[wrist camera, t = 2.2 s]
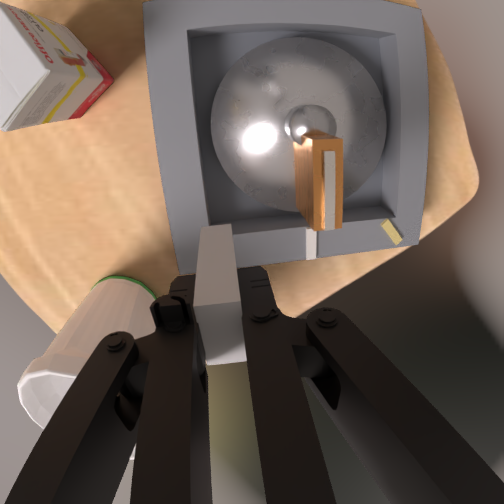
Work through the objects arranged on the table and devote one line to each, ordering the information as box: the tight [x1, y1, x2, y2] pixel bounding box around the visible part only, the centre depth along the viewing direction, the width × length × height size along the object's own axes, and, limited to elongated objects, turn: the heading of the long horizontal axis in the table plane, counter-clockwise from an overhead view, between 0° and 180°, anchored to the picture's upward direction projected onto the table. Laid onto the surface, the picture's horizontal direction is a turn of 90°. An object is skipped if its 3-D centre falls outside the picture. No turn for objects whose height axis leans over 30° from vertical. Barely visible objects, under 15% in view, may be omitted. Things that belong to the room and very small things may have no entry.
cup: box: [17, 276, 157, 460], centre depth 25 cm, size 12×12×15 cm
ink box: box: [0, 2, 114, 132], centre depth 15 cm, size 9×5×12 cm, turn 37°
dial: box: [211, 37, 387, 231], centre depth 20 cm, size 14×14×7 cm
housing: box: [143, 0, 429, 275], centre depth 23 cm, size 22×22×5 cm
